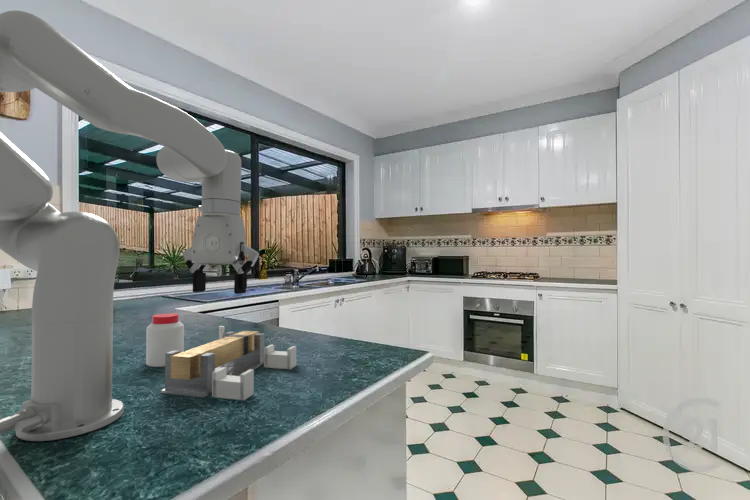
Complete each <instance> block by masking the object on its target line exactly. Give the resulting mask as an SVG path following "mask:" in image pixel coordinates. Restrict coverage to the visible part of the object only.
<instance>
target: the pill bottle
mask: <svg viewBox="0 0 750 500" xmlns="http://www.w3.org/2000/svg"><path fill="white" fill-rule="evenodd" d="M179 319H180V314H179V313H159V314H154V315H152V319H151V323H150V324H148V325H147V327H146V331H145V334H146V337H145V340H146V341H145V343H146V344H145V346H146V347H145V348H146V349H145V350H146V351H145V365H146V366H147V367H151V368H152V367H153V368H157V367H158V368H159V367H160V368H161V367H165V353H167V352H170V351H173V350H174V351H180V353H181V352H184V351H185V325H184V323H182V321H180V320H179Z"/></svg>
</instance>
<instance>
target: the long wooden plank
mask: <svg viewBox="0 0 750 500" xmlns="http://www.w3.org/2000/svg"><path fill="white" fill-rule="evenodd" d="M258 333H260V331H256V330H255V331H254V330H242V331H239V332H236V334H233V335H229V336H227V337H225V336H224V338H221V339H219V338H218V339H216V340H213V341H211V342H207V343H205V344H202V345H199V346H195V347H192V348H190V349H187V350H184V352H181V353H178V354H175V355H172V356H171V378H173V379H184V380H191V379H193V378H195V377H198V376H200V356H201V355H204V354H206V353H215V368H217V367H219V366H222V365H224V364H226V363H228V362H230V361H232V360H235V359H237V358H239V357H241V356H244V355H246V354H248V353H250V352H252V351H254V335H255V334H258Z"/></svg>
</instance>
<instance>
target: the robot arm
mask: <svg viewBox="0 0 750 500" xmlns="http://www.w3.org/2000/svg"><path fill="white" fill-rule="evenodd" d="M33 89H37V90H39V91H40V92H42V93H43V94H45V95H46V96H48V97H50V98H51V99H52V100H54V101H56V102H57V103H59V104H60V105H61V106H64V107H65V108H66V109H68V110H69V111H71V112H73V113H74V114H75V115H77V116H78V117H80V118H81V119H84V121H86V122H87V123H89V124H91V125H92V126H94V127H95V128H98V129H102V130H103V131H107V132H111V133H116V134H123V135H129V136H135V137H140V138H142V139H147V140H149V141H152V142H155V143H157V144H159V145H162V146H163V147H161V148H160V149H159V150H158V152H157V154H156V159H155V160H156V166H157V168H158V169H159V171H160V172H161V173H162V174H163V175H164V176H165V177H167V178H168V179H171V180H173V181H177V182H183V183H184V182H187V183H200V184H201V185H202V186H201V205H198V206H197V210H198V212H200V213H201V215H198V216H197V219H196V221H195V225H194V230H193V237H192V245H191V247H189V248H188V249H186V250H185V251H182V255H183V258H184V260H185V265H186V266H187V267H188V268H189V271H190V273H191V274H192V292H193V293H202V292H205V291H206V285H207V283H206V281H207V273H206V272H204V271H205V270H206V269H207V267H208V266H210V265H232V267H233V268H234V270H235V271H236V272H237V273H234V282H233V283H234V287H233V288H234V289H233V293H234V294H236V295H238V294H239V295H241V294H246V292H247V288H248V274H250V272H251V270H252V269H253V268H254V267H255V265H256V262H257V260H258V258H259V257H260V252H258V251H257V250H255V249H253V248H252V247H250V246H248V245H247V241H246V240H247V239H246V237H247V236H246V227H245V223H244V217H241V202H242V201H241V198H242V197H241V194H242V158H241V156H240V155H239V154H238V153H237V152H235V151H232V150H228V149H225V146H224V145H223V143H222V142H221V141H220V140H219V139H218V138H217V136H216V135H215V134H214V133H212V131H210V129H208V128H206V126H204V125H203V124H202V123H201V122H199V121H198V120H197V119H196V118H194V117H193V116H192V115H190V113H189V114H188V112H186V111H184V110H182V109H180V108H178V107H177V106H175V105H171V104H170V103H168V102H166V101H163V100H162V99H159V98H157V97H154V96H153V95H150V94H147V93H146V92H143V91H140V90H137V89H134V88H133V87H131V86H130V85H128V84H127V83H125V82H124V81H123V80H121V79H120V78H119V77H117V76H116V75H115V73H112V72H111V71H110V70H108V69H107V68H106V67H105V66H103V64H101V63H99V61H97V60H96V59H94V58H93V57H92V56H90V55H89V54H88V53H87V52H85V50H83V49H82V48H81V47H79V46H78V45H76V44H75V43H74V42H73V41H71V40H70V39H69V38H68V37H66V36H65V35H63V34H62V33H61V32H60V31H59V30H57V29H56V28H55V27H53V26H52V25H51V24H49V23H48V22H46V21H45V20H44V19H42V18H41V17H38V16H37V15H35V14H33V13H30V12H28V11H23V10H14V9H13V10H7V11H3V12H1V13H0V93H22V92H28V91H31V90H33ZM53 190H54V189H53V184H52V182H51V180H50V178H49V176H47V174H46V172H45V171H43V169H42V168H41V167H40V166H39V165H37V164H36V163H35V162H34V161H33V160H31V158H29V157H28V156H27V155H26V154H25V153H24V152H23V151H22V150H20V149H19V148H18V147H17V146H16V145H15V144H14V143H12V141H11V140H9V139H8V138H7V137H6V135H4V134H3V133H2V132H1V131H0V250H1V251H2V252H4V253H5V254H7V255H8V256H10V257H11V259H12V258H13V259H14V260H15V261H17V262H19V264H22V266H25V267H27V268H29V269H31V270H33V271H36V275H35V277H36V278H35V282H34V287H33V293H32V302H31V303H32V304H31V324H32V325H31V372H30V373H31V381H30V382H31V385H30V387H31V388H30V399H28V400H26V401H23V402H21V408H20V409H19V410H17V411H16V412H15V414H12V415H10V416H5V417H2V418H0V435H3V434H5V433H7V432H11V431H13V430H15V436H16V437H17V438H18V439H20V440H23V441H28V442H29V441H30V442H45V441H46V442H49V441H56V440H63V439H67V438H73V437H76V436H80V435H83V434H87V433H91V432H93V431H96V430H99V429H101V428H103V427H105V426H108V425H110V424H111V423H113V422H116V421H117V420H118V419H119V418H120V417H122V415H123V414H124V411H125V405H124V403H123V402H122V401H120V400H119V399H114V398H113V355H114V354H113V352H114V351H113V350H114V349H113V348H114V347H113V344H114V342H113V341H114V339H113V338H114V335H113V334H114V290H115V280H116V274H117V269H118V263H119V258H120V249H121V248H120V240H119V237H118V234H117V232H116V231H115V229H114V228H113V226H112V225H111V224H110V223H109V222H108V221H107V220H106V219H104V218H102V217H100V216H98V215H95V214H93V213H90V212H85V211H65V212H60V210H58V209H57V208H56V207H54V206H53V205H52V204H51V203H50V202H51V201H52V199H53V193H54V191H53ZM247 255H248V258H247V261H246V257H247Z"/></svg>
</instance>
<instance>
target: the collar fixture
mask: <svg viewBox="0 0 750 500" xmlns="http://www.w3.org/2000/svg"><path fill="white" fill-rule="evenodd" d="M236 333H237V331H228V332H225V325H219V326H218V340H219V339H221V338H224V337H227V336H229V335H233V334H236ZM265 335H266V333H265V332H263V333H261V332H259V333H258V334H255V335H254V351H252V352H250V353H248V354H246V355H244V356H241V357H239V358H237V359H235V360H232V361H230V362H228V363H226V364H224V365H222V366H219V367H217V368H215V353H206V354H204V355H201V356H200V376H198V377H195V378H193V379H191V380H184V379H173V378H171V356H172V355H175V354H178V353H180V351H174V350H173V351H170V352H167V353H165V366H164V368H165V369H164V388H162V389H160V394H166V395H177V396H187V397H198V398H205V397H207V396H209V395H212V372H213V371H216V370H218V369H220V368H222V367H226V375H231V376H240V374H242V373H244V372H246V371H248V370H249V369H252V370H254V371H255V369H256V370H257V369H258V368H260V367H261V366H264V348H265V347H266V346H265V345H266V341H265V340H266V338H265V337H266V336H265Z"/></svg>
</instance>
